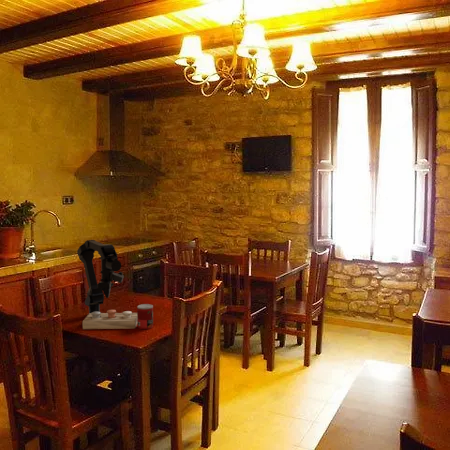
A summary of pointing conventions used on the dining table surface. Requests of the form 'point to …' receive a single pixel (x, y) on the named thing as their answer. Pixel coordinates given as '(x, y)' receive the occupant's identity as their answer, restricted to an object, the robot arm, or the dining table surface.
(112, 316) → the terracotta plug
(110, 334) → the dining table surface
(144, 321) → the canned food
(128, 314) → the cream plug
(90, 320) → the beech block
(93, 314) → the grey plug
